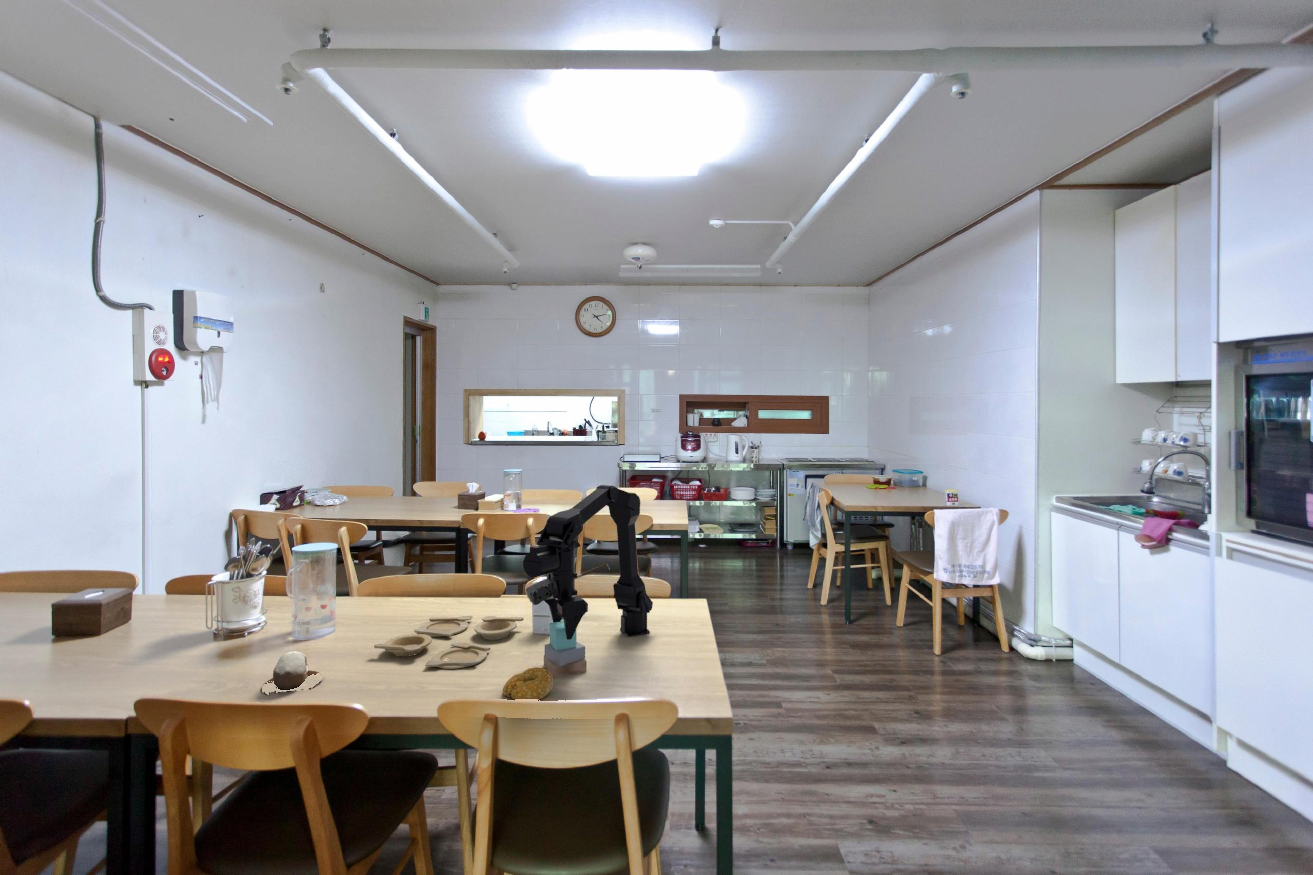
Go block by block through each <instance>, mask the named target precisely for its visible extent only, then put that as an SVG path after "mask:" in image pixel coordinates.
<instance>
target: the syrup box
mask: <svg viewBox="0 0 1313 875" xmlns="http://www.w3.org/2000/svg"><path fill="white" fill-rule="evenodd" d="M545 579H547V576H542V577H541V576H539V577H538V578H537V579H536V580H534V581H532V582H531V585H534V584H536V583H538V582H540V581H543V580H545ZM531 614H532V616H531V617H532V618H531V619H532V633H533V634H538V635H550V623H553V620H552V616H551V612H550V609H549V605H548V604H547V603H546V602H545V601H542V602H541V603H540V604H537V605H533V603H532V602H531Z"/></svg>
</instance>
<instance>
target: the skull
mask: <svg viewBox="0 0 1313 875" xmlns="http://www.w3.org/2000/svg"><path fill="white" fill-rule="evenodd" d="M274 666H275V667H274V668H273V671H272V672H273V673H272V678H270V679H268V680H267V681H266V682H268V683H272V682H273V681H274V684H275V685H276V686H277V687H278V689H280V690H290V689H294V688H297V687H299V686H300V685H301V684H302V683H303V682H304V681H305V679H306V678H307V677H308V676H310V675H312V674H314V675H316V674H317V673H320V672H318V671H316V670H309V668H308V667H309V663H308V658H307V656H306V655H305V654H304V653H302V652H301V651H297V650H296V651H295V650H294V651H288V652H286V653H284V654H283V655H281V656H280V658H279V659H278V661H277V663H276V665H274ZM269 681H270V682H269ZM271 681H272V682H271ZM266 682H264V684H267V683H266Z"/></svg>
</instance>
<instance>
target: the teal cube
mask: <svg viewBox="0 0 1313 875" xmlns="http://www.w3.org/2000/svg"><path fill="white" fill-rule="evenodd" d="M576 642H577V629H576V630H575V633H574V635H573V637H572V639H570V640H567V638H566V633H565V626H564V620H561V622H554V623H550V634H549V643H550V645H551V646H552V647H553V648H554V649H555V650H556V651H557V650H563V649H568V648H574V647H576Z"/></svg>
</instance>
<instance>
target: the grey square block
mask: <svg viewBox="0 0 1313 875" xmlns="http://www.w3.org/2000/svg"><path fill="white" fill-rule="evenodd" d="M544 655H545V658H547V659H549V660H550V661H552V662H554V663H555V664H557V665H559V666H562V665H565V664H569V663H572V662H575V661H579V660H582V659H585V660H586V646H585V645H584V644H582V643H580V642H578V641H576V647H574V648H568V649H563V650H557V651H556V650H555V649H554V648H553V647H552V646H551V645H550V642H549V643H546V644H544Z"/></svg>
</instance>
